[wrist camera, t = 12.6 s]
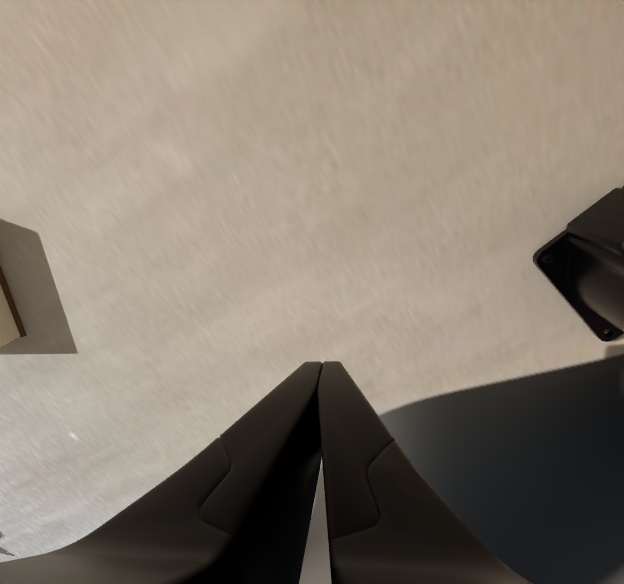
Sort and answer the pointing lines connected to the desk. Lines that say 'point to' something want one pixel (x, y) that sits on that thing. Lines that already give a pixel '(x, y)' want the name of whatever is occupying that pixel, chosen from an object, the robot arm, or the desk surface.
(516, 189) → the desk surface
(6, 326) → the book
